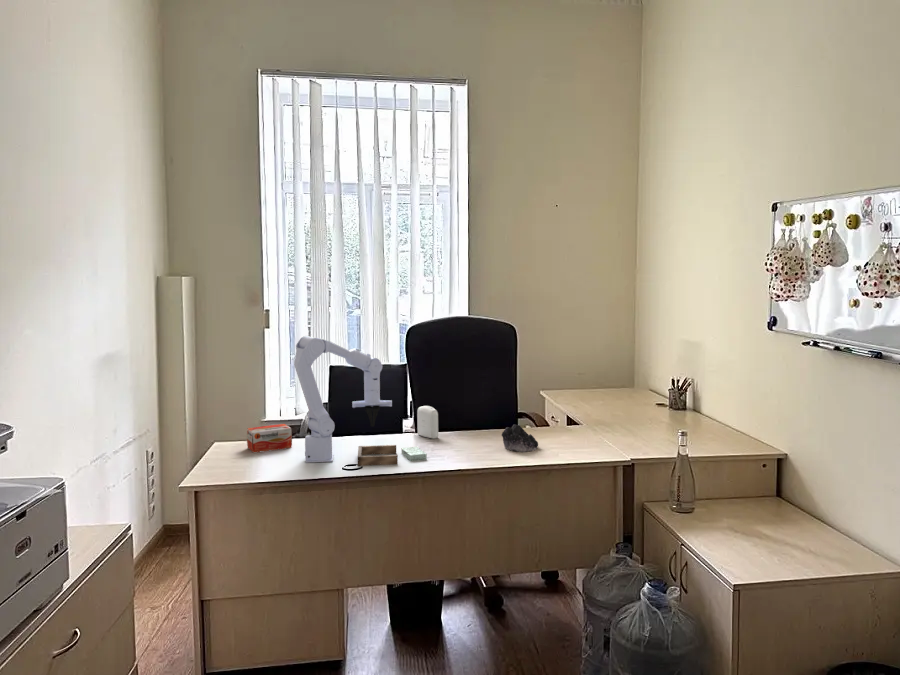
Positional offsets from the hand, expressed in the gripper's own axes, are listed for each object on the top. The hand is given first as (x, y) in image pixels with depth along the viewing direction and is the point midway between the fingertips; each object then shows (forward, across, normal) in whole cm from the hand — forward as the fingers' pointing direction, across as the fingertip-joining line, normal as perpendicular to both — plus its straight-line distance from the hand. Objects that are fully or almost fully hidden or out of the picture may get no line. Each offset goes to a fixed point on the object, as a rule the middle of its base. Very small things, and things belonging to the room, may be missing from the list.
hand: (372, 425), depth 259 cm
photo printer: (+10, +22, +20) cm, 31 cm away
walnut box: (+9, +2, -12) cm, 15 cm away
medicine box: (+10, -39, +9) cm, 41 cm away
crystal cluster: (+10, +55, -3) cm, 56 cm away
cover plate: (+10, +15, -10) cm, 20 cm away
